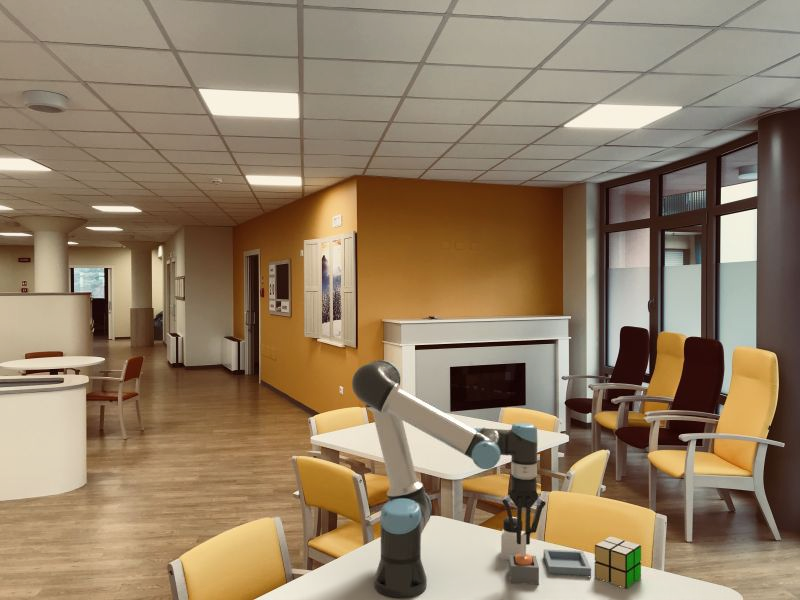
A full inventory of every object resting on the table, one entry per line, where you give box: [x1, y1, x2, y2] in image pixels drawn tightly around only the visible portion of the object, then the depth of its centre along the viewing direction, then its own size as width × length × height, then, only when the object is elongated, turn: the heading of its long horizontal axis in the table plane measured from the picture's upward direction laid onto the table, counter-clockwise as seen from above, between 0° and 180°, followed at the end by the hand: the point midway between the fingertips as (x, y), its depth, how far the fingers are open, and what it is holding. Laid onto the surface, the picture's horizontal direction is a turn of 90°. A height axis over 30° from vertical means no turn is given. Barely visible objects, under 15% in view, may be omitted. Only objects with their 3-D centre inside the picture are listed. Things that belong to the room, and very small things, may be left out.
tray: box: [543, 549, 592, 578], centre depth 190 cm, size 12×12×2 cm
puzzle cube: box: [594, 536, 642, 589], centre depth 182 cm, size 10×10×10 cm
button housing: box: [508, 555, 540, 586], centre depth 182 cm, size 8×8×5 cm
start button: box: [515, 553, 533, 566], centre depth 182 cm, size 5×5×2 cm
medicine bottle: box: [500, 516, 523, 561], centre depth 197 cm, size 7×7×12 cm
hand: (522, 554), depth 182 cm, fingers closed
